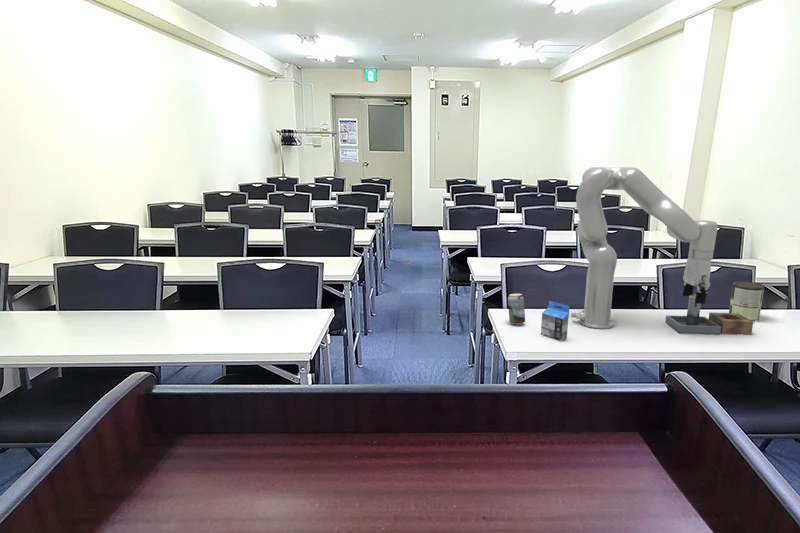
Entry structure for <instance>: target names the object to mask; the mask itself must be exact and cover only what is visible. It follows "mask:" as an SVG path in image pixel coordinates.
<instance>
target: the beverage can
mask: <svg viewBox="0 0 800 533" xmlns="http://www.w3.org/2000/svg"><path fill="white" fill-rule="evenodd" d="M507 305H508V308H507V309H508V319H509V320H508V321H509V323H510V324H511V323H513V324H512V325H514V324H517V325H518V324H520V325H523V324H524V323H525V322H526V314H525V313H526V312H525V310H526V309H525V297H524V295H523V293H510V294H509V295H508V297H507Z"/></svg>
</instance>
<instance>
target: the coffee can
mask: <svg viewBox="0 0 800 533" xmlns="http://www.w3.org/2000/svg"><path fill="white" fill-rule="evenodd" d="M765 288H766V286H765V285H764V284H762V283H758V282H755V281H754V282H753V281H744V280H739V281H738V280H736V281H733V282H732V288H731V295H730V301H729V302H730V303H729V309H728V313H738V314H740V315H742V316H744V317H745V318H747V319H749V320H751V321H753V323H756V322H755V321H758V322H760V316H761V309H762V302H763V297H764V292H765V291H764V290H765Z"/></svg>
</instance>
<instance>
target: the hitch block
mask: <svg viewBox="0 0 800 533" xmlns="http://www.w3.org/2000/svg"><path fill="white" fill-rule="evenodd" d="M708 319H709V320H711V321H713V322H714V323H716V324H717V325H719V326H720V327H721V332H720V335H737V334H743V335H742V336H751V335H752V333H753V328H754V326H753V325H754V322H753V321H751V320H749V319H747V318H745V317H744V316H742V315H740V314H738V313H729V312H710V311H709V313H708Z"/></svg>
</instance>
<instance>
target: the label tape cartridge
mask: <svg viewBox="0 0 800 533" xmlns="http://www.w3.org/2000/svg"><path fill="white" fill-rule="evenodd" d="M556 306H557V307H556ZM559 307H560V308H559ZM569 315H570V305H568V304H564V303H560V302H556V301H551V300H548V306H547V308H545V309H544V311H543V312H542V313H541V324H540V325H541V328H540V335H542V334H544V335H543V336H545V335H547V336H546V337H548V336H549V338H551V337H552V338H551V339H554V338H555V340H557V339H558V341H560V340H561V341H560V342H563V341H565V340H567V339H568V329H569V317H570V316H569ZM566 338H567V339H566ZM564 339H565V340H564ZM562 340H563V341H562Z"/></svg>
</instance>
